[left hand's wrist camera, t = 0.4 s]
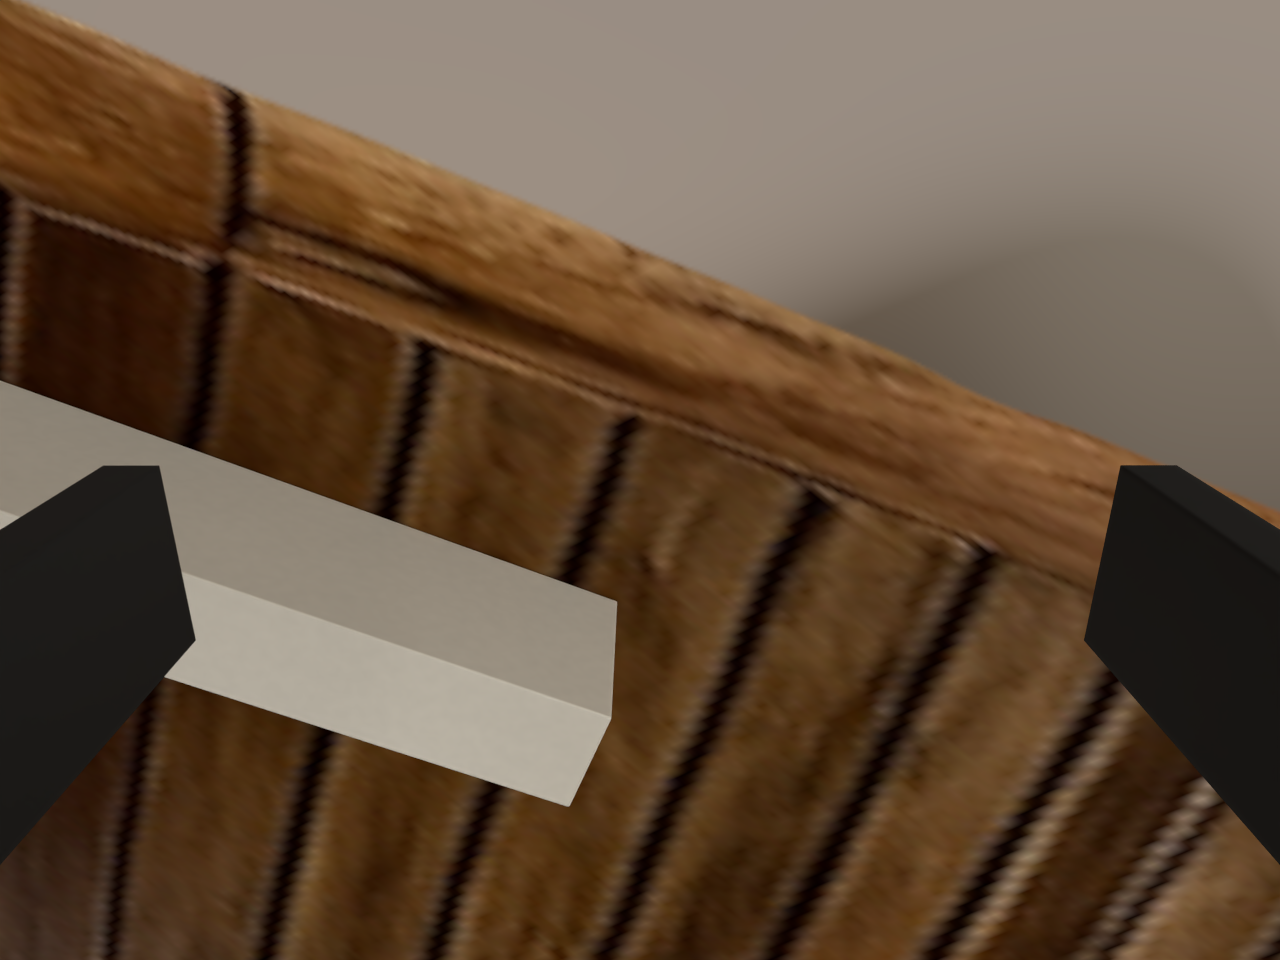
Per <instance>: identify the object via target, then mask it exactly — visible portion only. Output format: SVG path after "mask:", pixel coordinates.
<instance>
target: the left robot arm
mask: <svg viewBox="0 0 1280 960" xmlns="http://www.w3.org/2000/svg"><path fill="white" fill-rule="evenodd" d="M195 641H196V638H195V634H194V629H193V624H192V619H191V615H190V610H189V605H188V600H187V595H186V591H185V586H184V581H183V576H182V571H181V567H180V562H179V557H178V552H177V548H176V543H175V538H174V533H173V528H172V524H171V519H170V514H169V509H168V504H167V500H166V495H165V490H164V485H163V481H162V476H161V471H160V466H159V465H103V466H102V467H100V468H98V469H97V470H95V471H94V472H92V473H90V474H89V475H87V476H86V477H84V478H82V479H81V480H79V481H78V482H76V483H74V484H73V485H71V486H69V487H68V488H66V489H65V490H63V491H61V492H60V493H58V494H57V495H55V496H53V497H52V498H50V499H49V500H47V501H45V502H44V503H42V504H41V505H39V506H37V507H36V508H34V509H33V510H31V511H29V512H28V513H26V514H24V515H23V516H21V517H20V518H18V519H16V520H15V521H13V522H12V523H10V524H8V525H7V526H5V527H4V528H2V529H0V864H1V863H2V862H3V861H4V860H5V859H6V857H7V856H8V855H9V854H10V853H11V852H12V851H13V849H14V848H15V847H16V846H17V845H18V844H19V843H20V841H21V840H22V839H23V838H24V837H25V836H26V835H27V833H28V832H29V831H30V830H31V829H32V828H33V826H34V825H35V824H36V823H37V822H38V821H39V820H40V818H41V817H42V816H43V815H44V814H45V813H46V812H47V810H48V809H49V808H50V807H51V806H52V805H53V804H54V802H55V801H56V800H57V799H58V798H59V797H60V796H61V794H62V793H63V792H64V791H65V790H66V789H67V788H68V786H69V785H70V784H71V783H72V782H73V781H74V779H75V778H76V777H77V776H78V775H79V774H80V773H81V771H82V770H83V769H84V768H85V767H86V766H87V765H88V763H89V762H90V761H91V760H92V759H93V758H94V757H95V755H96V754H97V753H98V752H99V751H100V750H101V749H102V747H103V746H104V745H105V744H106V743H107V742H108V741H109V739H110V738H111V737H112V736H113V735H114V734H115V733H116V731H117V730H118V729H119V728H120V727H121V726H122V724H123V723H124V722H125V721H126V720H127V719H128V718H129V716H130V715H131V714H132V713H133V712H134V711H135V710H136V708H137V707H138V706H139V705H140V704H141V703H142V702H143V700H144V699H145V698H146V697H147V696H148V695H149V694H150V692H151V691H152V690H153V689H154V688H155V687H156V686H157V684H158V683H159V682H160V681H161V680H162V679H163V678H164V676H165V675H166V674H167V673H168V672H169V671H170V669H171V668H172V667H173V666H174V665H175V664H176V663H177V661H178V660H179V659H180V658H181V657H182V656H183V655H184V653H185V652H186V651H187V650H188V649H189V648H190V647H191V645H192V644H193V643H194V642H195ZM1084 641H1085V642H1086V643H1087V644H1088V645H1089V647H1090V648H1091V649H1092V650H1093V651H1094V652H1095V653H1096V655H1097V656H1098V657H1099V658H1100V659H1101V660H1102V661H1103V663H1104V664H1105V665H1106V666H1107V667H1108V668H1109V669H1110V671H1111V672H1112V673H1113V674H1114V675H1115V676H1116V678H1117V679H1118V680H1119V681H1120V682H1121V683H1122V684H1123V686H1124V687H1125V688H1126V689H1127V690H1128V691H1129V692H1130V694H1131V695H1132V696H1133V697H1134V698H1135V699H1136V700H1137V702H1138V703H1139V704H1140V705H1141V706H1142V707H1143V708H1144V710H1145V711H1146V712H1147V713H1148V714H1149V715H1150V716H1151V718H1152V719H1153V720H1154V721H1155V722H1156V723H1157V724H1158V726H1159V727H1160V728H1161V729H1162V730H1163V731H1164V733H1165V734H1166V735H1167V736H1168V737H1169V738H1170V739H1171V741H1172V742H1173V743H1174V744H1175V745H1176V746H1177V747H1178V749H1179V750H1180V751H1181V752H1182V753H1183V754H1184V755H1185V757H1186V758H1187V759H1188V760H1189V761H1190V762H1191V763H1192V765H1193V766H1194V767H1195V768H1196V769H1197V770H1198V771H1199V773H1200V774H1201V775H1202V776H1203V777H1204V778H1205V779H1206V781H1207V782H1208V783H1209V784H1210V785H1211V786H1212V788H1213V789H1214V790H1215V791H1216V792H1217V793H1218V794H1219V796H1220V797H1221V798H1222V799H1223V800H1224V801H1225V802H1226V804H1227V805H1228V806H1229V807H1230V808H1231V809H1232V810H1233V812H1234V813H1235V814H1236V815H1237V816H1238V817H1239V818H1240V820H1241V821H1242V822H1243V823H1244V824H1245V825H1246V826H1247V828H1248V829H1249V830H1250V831H1251V832H1252V833H1253V835H1254V836H1255V837H1256V838H1257V839H1258V840H1259V841H1260V843H1261V844H1262V845H1263V846H1264V847H1265V848H1266V849H1267V851H1268V852H1269V853H1270V854H1271V855H1272V856H1273V857H1274V859H1275V860H1276V861H1277V862H1278V863H1279V864H1280V529H1278V528H1276V527H1275V526H1273V525H1272V524H1270V523H1268V522H1267V521H1265V520H1264V519H1262V518H1260V517H1259V516H1257V515H1255V514H1254V513H1252V512H1251V511H1249V510H1247V509H1246V508H1244V507H1243V506H1241V505H1239V504H1238V503H1236V502H1235V501H1233V500H1231V499H1230V498H1228V497H1227V496H1225V495H1223V494H1222V493H1220V492H1219V491H1217V490H1215V489H1214V488H1212V487H1211V486H1209V485H1207V484H1206V483H1204V482H1202V481H1201V480H1199V479H1198V478H1196V477H1194V476H1193V475H1191V474H1190V473H1188V472H1186V471H1185V470H1183V469H1182V468H1180V467H1178V466H1177V465H1121V466H1120V471H1119V476H1118V481H1117V485H1116V490H1115V495H1114V500H1113V504H1112V509H1111V514H1110V519H1109V524H1108V528H1107V533H1106V538H1105V543H1104V548H1103V552H1102V557H1101V562H1100V567H1099V571H1098V576H1097V581H1096V586H1095V591H1094V595H1093V600H1092V605H1091V610H1090V615H1089V619H1088V624H1087V629H1086V634H1085V638H1084Z"/></svg>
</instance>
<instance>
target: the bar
mask: <svg viewBox="0 0 1280 960" xmlns="http://www.w3.org/2000/svg"><path fill="white" fill-rule="evenodd" d="M103 465H159V466H160V471H161V476H162V481H163V485H164V490H165V495H166V500H167V504H168V509H169V514H170V519H171V524H172V528H173V533H174V538H175V543H176V548H177V552H178V557H179V562H180V567H181V571H182V576H183V581H184V586H185V591H186V595H187V600H188V605H189V610H190V615H191V619H192V624H193V629H194V634H195V638H196V641H195V642H194V643H193V644H192V645H191V647H190V648H189V649H188V650H187V651H186V652H185V653H184V655H183V656H182V657H181V658H180V659H179V660H178V661H177V663H176V664H175V665H174V666H173V667H172V668H171V669H170V671H169V672H168V673H167V674H166V675H165V676H164V677H166V678H169V679H172V680H175V681H178V682H182V683H185V684H188V685H191V686H194V687H197V688H200V689H203V690H206V691H210V692H213V693H216V694H219V695H222V696H225V697H228V698H231V699H234V700H238V701H241V702H244V703H247V704H250V705H253V706H256V707H259V708H262V709H266V710H269V711H272V712H275V713H278V714H281V715H284V716H287V717H290V718H294V719H297V720H300V721H303V722H306V723H309V724H312V725H315V726H318V727H322V728H325V729H328V730H331V731H334V732H337V733H340V734H343V735H346V736H350V737H353V738H356V739H359V740H362V741H365V742H368V743H371V744H374V745H378V746H381V747H384V748H387V749H390V750H393V751H396V752H399V753H402V754H406V755H409V756H412V757H415V758H418V759H421V760H424V761H427V762H430V763H434V764H437V765H440V766H443V767H446V768H449V769H452V770H455V771H458V772H462V773H465V774H468V775H471V776H474V777H477V778H480V779H483V780H486V781H490V782H493V783H496V784H499V785H502V786H505V787H508V788H511V789H514V790H518V791H521V792H524V793H527V794H530V795H533V796H536V797H539V798H542V799H545V800H549V801H552V802H555V803H558V804H561V805H564V806H570V804H571V802H572V800H573V798H574V796H575V794H576V792H577V789H578V787H579V785H580V783H581V781H582V779H583V777H584V775H585V773H586V771H587V768H588V766H589V764H590V762H591V760H592V758H593V756H594V754H595V752H596V750H597V747H598V745H599V743H600V741H601V739H602V737H603V735H604V733H605V731H606V729H607V726H608V724H609V722H610V720H611V712H612V692H613V673H614V653H615V633H616V613H617V602H616V601H614V600H611V599H609V598H606V597H603V596H600V595H597V594H595V593H592V592H589V591H586V590H583V589H581V588H578V587H575V586H572V585H569V584H567V583H564V582H561V581H558V580H556V579H553V578H550V577H547V576H544V575H542V574H539V573H536V572H533V571H530V570H528V569H525V568H522V567H519V566H516V565H514V564H511V563H508V562H505V561H502V560H500V559H497V558H494V557H491V556H489V555H486V554H483V553H480V552H477V551H475V550H472V549H469V548H466V547H463V546H461V545H458V544H455V543H452V542H449V541H447V540H444V539H441V538H438V537H435V536H433V535H430V534H427V533H424V532H422V531H419V530H416V529H413V528H410V527H408V526H405V525H402V524H399V523H396V522H394V521H391V520H388V519H385V518H382V517H380V516H377V515H374V514H371V513H368V512H366V511H363V510H360V509H357V508H355V507H352V506H349V505H346V504H343V503H341V502H338V501H335V500H332V499H329V498H327V497H324V496H321V495H318V494H315V493H313V492H310V491H307V490H304V489H301V488H299V487H296V486H293V485H290V484H288V483H285V482H282V481H279V480H276V479H274V478H271V477H268V476H265V475H262V474H260V473H257V472H254V471H251V470H248V469H246V468H243V467H240V466H237V465H235V464H232V463H229V462H226V461H223V460H221V459H218V458H215V457H212V456H209V455H207V454H204V453H201V452H198V451H195V450H193V449H190V448H187V447H184V446H181V445H179V444H176V443H173V442H170V441H168V440H165V439H162V438H159V437H156V436H154V435H151V434H148V433H145V432H142V431H140V430H137V429H134V428H131V427H128V426H126V425H123V424H120V423H117V422H114V421H112V420H109V419H106V418H103V417H101V416H98V415H95V414H92V413H89V412H87V411H84V410H81V409H78V408H75V407H73V406H70V405H67V404H64V403H61V402H59V401H56V400H53V399H50V398H47V397H45V396H42V395H39V394H36V393H34V392H31V391H28V390H25V389H22V388H20V387H17V386H14V385H11V384H8V383H6V382H3V381H0V529H2V528H4V527H5V526H7V525H8V524H10V523H12V522H13V521H15V520H16V519H18V518H20V517H21V516H23V515H24V514H26V513H28V512H29V511H31V510H33V509H34V508H36V507H37V506H39V505H41V504H42V503H44V502H45V501H47V500H49V499H50V498H52V497H53V496H55V495H57V494H58V493H60V492H61V491H63V490H65V489H66V488H68V487H69V486H71V485H73V484H74V483H76V482H78V481H79V480H81V479H82V478H84V477H86V476H87V475H89V474H90V473H92V472H94V471H95V470H97V469H98V468H100V467H102V466H103Z"/></svg>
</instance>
